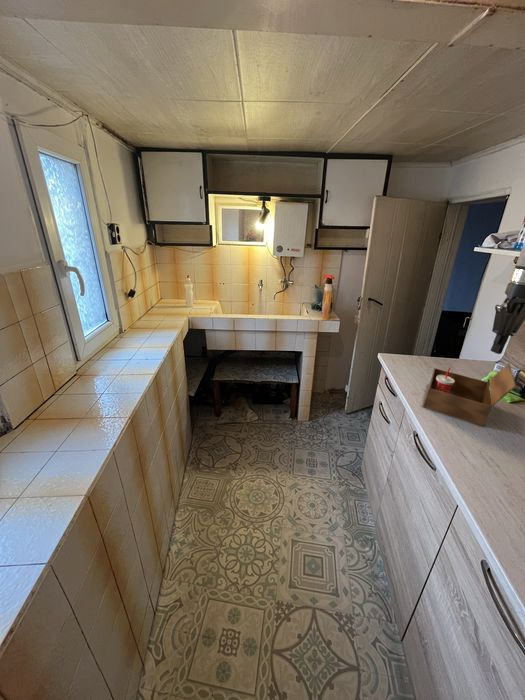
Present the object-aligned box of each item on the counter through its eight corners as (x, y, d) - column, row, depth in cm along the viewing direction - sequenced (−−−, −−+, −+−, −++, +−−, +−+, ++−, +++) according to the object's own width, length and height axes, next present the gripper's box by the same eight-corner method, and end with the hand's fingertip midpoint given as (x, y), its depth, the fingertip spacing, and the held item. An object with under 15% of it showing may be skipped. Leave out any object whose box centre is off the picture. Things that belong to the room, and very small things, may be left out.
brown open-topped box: (481, 400, 113) (488, 382, 109) (482, 426, 98) (491, 406, 94) (428, 385, 122) (434, 368, 119) (423, 406, 107) (429, 388, 104)
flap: (489, 380, 109) (490, 381, 109) (492, 404, 94) (493, 405, 94) (508, 363, 104) (509, 363, 104) (514, 385, 89) (516, 386, 89)
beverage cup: (451, 401, 110) (463, 370, 104) (437, 403, 109) (449, 371, 103) (439, 393, 116) (450, 363, 110) (426, 394, 115) (436, 364, 109)
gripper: (520, 286, 83) (490, 358, 92) (554, 285, 85) (521, 355, 95) (495, 281, 89) (470, 348, 99) (528, 281, 92) (500, 346, 102)
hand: (495, 352), depth 97 cm, fingers closed
